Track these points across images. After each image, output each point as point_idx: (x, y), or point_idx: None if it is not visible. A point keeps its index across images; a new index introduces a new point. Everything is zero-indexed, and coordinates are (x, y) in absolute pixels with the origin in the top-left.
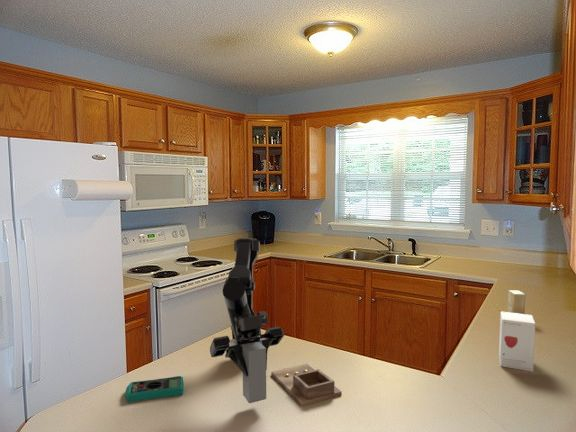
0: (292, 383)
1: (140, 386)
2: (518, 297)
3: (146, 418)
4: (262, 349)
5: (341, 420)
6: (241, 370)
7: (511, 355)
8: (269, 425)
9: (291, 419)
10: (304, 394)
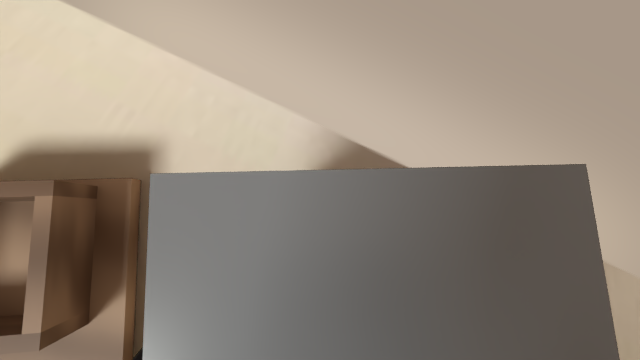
0: (79, 347)
1: None
2: None
3: (631, 324)
4: (254, 177)
5: (63, 44)
6: None
7: None
8: (297, 125)
9: (217, 123)
10: (88, 213)
